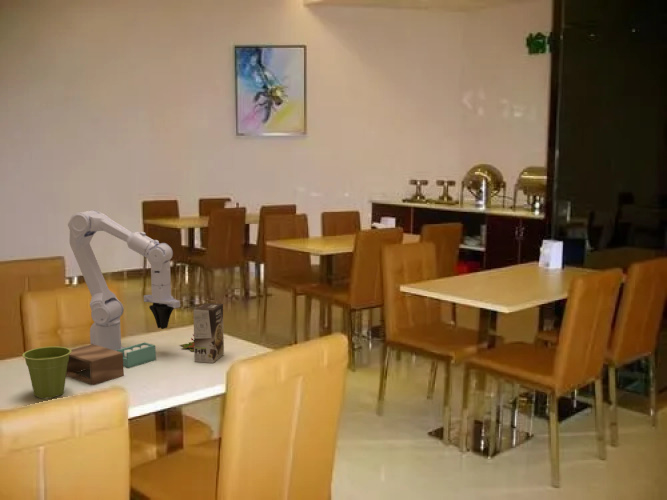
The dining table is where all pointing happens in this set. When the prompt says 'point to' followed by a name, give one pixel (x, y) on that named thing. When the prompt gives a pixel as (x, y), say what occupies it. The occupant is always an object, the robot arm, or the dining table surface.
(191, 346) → the red green leafy plant
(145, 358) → the tray
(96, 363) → the wooden crate box
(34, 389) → the plant pot
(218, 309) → the coffee box
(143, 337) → the dining table surface
